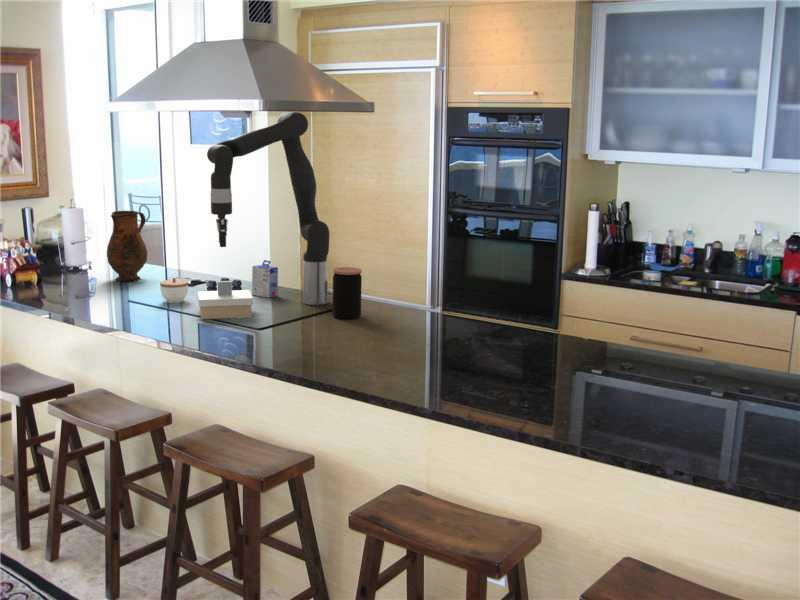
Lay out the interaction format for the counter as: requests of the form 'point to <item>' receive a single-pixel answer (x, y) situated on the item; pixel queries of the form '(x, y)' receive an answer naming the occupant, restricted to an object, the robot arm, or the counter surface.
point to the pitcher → (127, 246)
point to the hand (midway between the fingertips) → (222, 245)
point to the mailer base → (225, 311)
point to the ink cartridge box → (265, 280)
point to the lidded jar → (174, 290)
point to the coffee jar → (347, 293)
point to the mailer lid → (225, 296)
